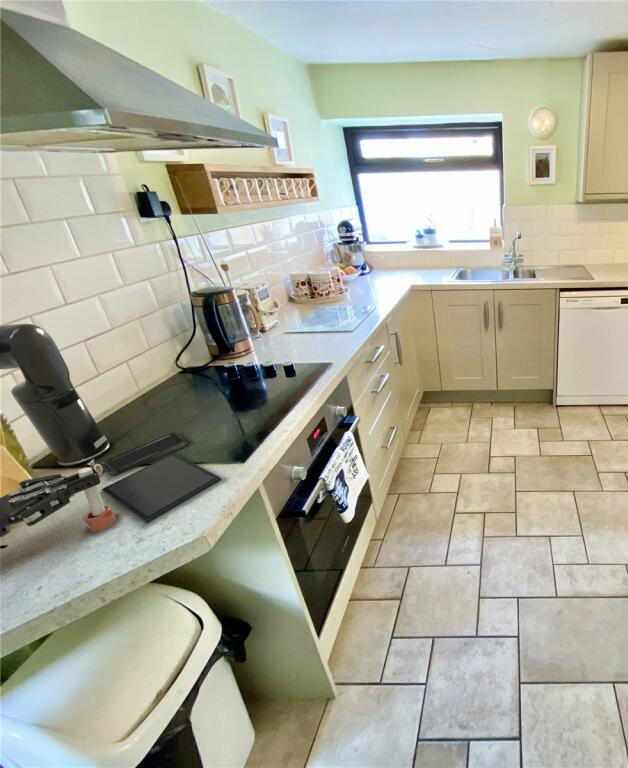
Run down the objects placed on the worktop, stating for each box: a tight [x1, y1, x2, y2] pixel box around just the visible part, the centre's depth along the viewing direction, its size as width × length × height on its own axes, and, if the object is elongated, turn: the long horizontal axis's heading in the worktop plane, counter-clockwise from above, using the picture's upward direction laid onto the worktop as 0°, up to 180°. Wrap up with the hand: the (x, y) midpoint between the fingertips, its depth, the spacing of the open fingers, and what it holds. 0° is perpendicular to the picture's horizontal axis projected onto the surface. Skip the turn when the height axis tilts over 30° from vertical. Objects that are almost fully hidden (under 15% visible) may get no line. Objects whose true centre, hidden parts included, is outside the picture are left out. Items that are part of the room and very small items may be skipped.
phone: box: [101, 431, 188, 477], centre depth 100 cm, size 8×1×15 cm
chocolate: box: [87, 459, 104, 476], centre depth 94 cm, size 3×2×4 cm
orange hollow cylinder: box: [82, 505, 117, 532], centre depth 80 cm, size 4×4×3 cm
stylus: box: [77, 467, 105, 516], centre depth 78 cm, size 2×2×12 cm
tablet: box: [101, 452, 222, 524], centre depth 90 cm, size 20×14×1 cm
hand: (97, 475), depth 78 cm, fingers closed on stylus, 2 cm apart
